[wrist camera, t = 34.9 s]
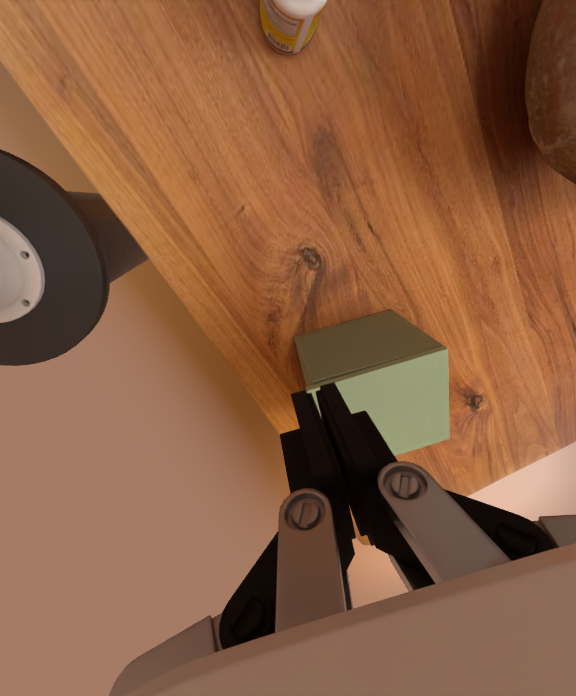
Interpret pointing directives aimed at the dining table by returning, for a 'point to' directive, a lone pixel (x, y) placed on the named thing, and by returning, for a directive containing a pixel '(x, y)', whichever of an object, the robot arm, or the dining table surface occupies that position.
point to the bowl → (553, 85)
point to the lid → (401, 398)
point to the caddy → (359, 346)
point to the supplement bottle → (290, 22)
